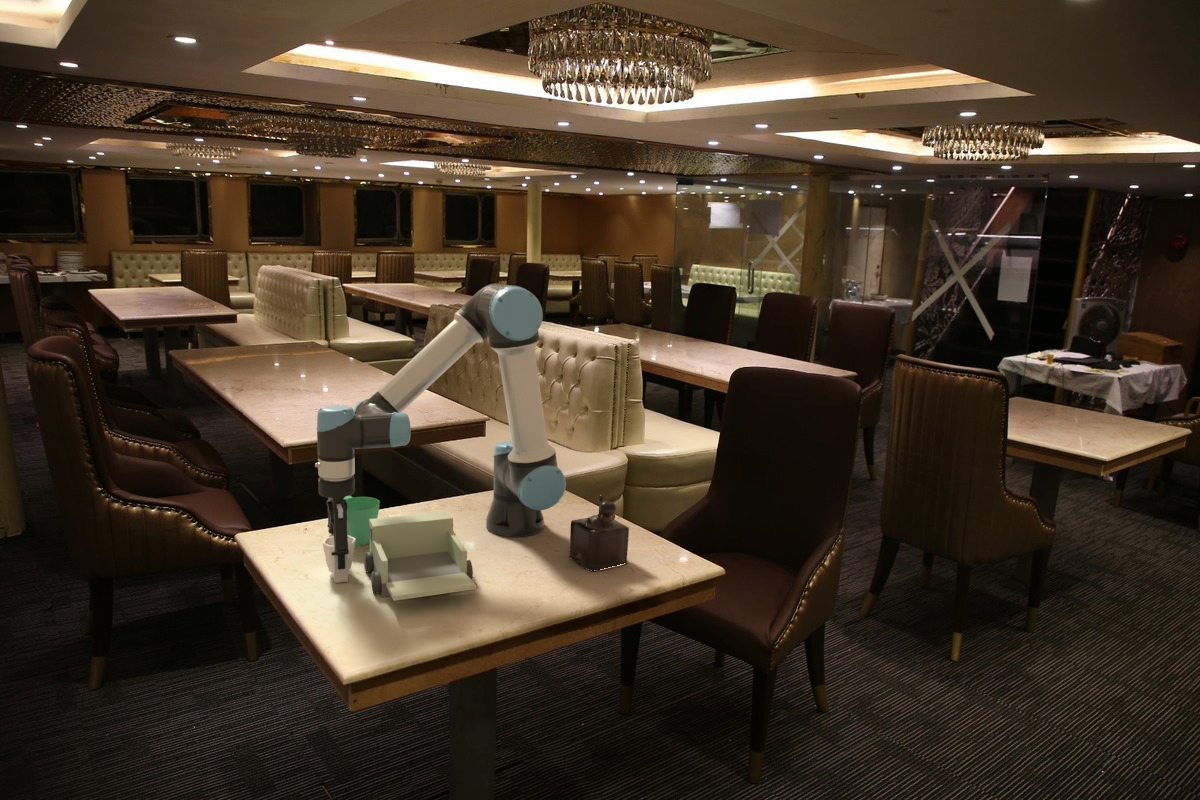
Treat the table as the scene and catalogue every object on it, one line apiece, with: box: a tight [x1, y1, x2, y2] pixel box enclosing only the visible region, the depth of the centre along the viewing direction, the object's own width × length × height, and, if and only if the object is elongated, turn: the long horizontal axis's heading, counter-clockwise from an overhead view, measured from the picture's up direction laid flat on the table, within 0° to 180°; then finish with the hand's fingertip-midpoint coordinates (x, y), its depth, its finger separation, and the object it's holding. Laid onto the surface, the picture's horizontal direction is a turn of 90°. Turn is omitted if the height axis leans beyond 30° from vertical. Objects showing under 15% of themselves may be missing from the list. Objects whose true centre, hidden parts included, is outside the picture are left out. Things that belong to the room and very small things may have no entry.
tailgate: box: [386, 572, 477, 602], centre depth 162 cm, size 17×1×9 cm
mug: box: [344, 495, 381, 547], centre depth 193 cm, size 15×10×10 cm
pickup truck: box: [363, 510, 474, 598], centre depth 174 cm, size 21×18×11 cm
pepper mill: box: [568, 494, 630, 572], centre depth 183 cm, size 16×11×18 cm
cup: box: [322, 535, 356, 579], centre depth 174 cm, size 7×10×8 cm
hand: (338, 571), depth 175 cm, fingers open, 11 cm apart
